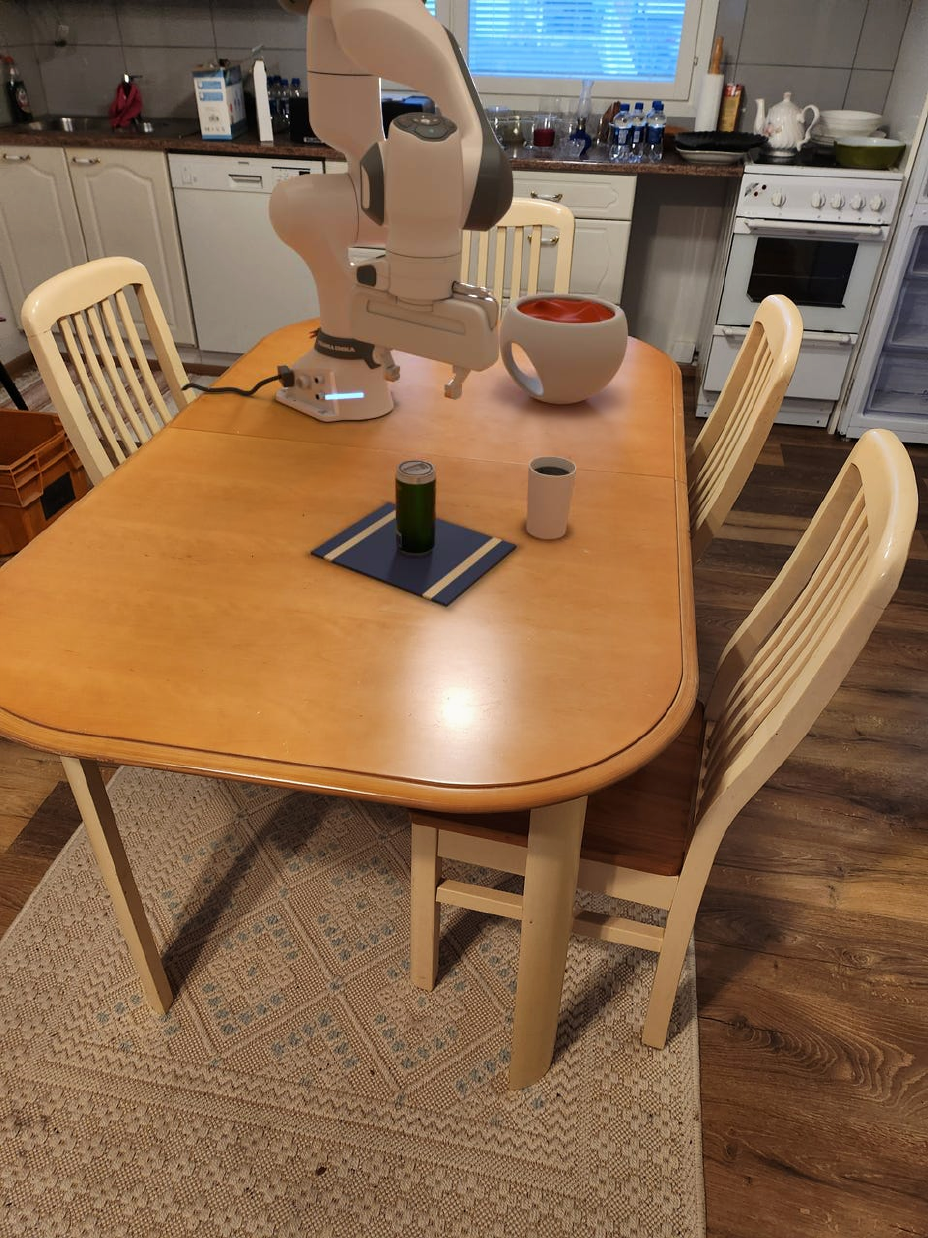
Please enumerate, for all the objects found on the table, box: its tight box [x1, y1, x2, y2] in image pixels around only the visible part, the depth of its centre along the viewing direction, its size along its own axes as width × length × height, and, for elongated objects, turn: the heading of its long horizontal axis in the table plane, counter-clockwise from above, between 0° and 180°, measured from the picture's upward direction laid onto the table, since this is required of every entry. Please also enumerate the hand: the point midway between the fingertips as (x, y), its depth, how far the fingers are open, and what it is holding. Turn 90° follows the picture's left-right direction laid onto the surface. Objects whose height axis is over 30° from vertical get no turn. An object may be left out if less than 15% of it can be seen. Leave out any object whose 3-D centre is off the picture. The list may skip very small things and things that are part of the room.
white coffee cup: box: [525, 455, 577, 540], centre depth 123 cm, size 7×7×10 cm
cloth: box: [310, 501, 518, 608], centre depth 119 cm, size 22×18×1 cm
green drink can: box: [394, 459, 437, 557], centre depth 116 cm, size 5×5×12 cm
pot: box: [499, 292, 629, 405], centre depth 165 cm, size 24×24×18 cm
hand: (421, 388), depth 110 cm, fingers open, 8 cm apart
